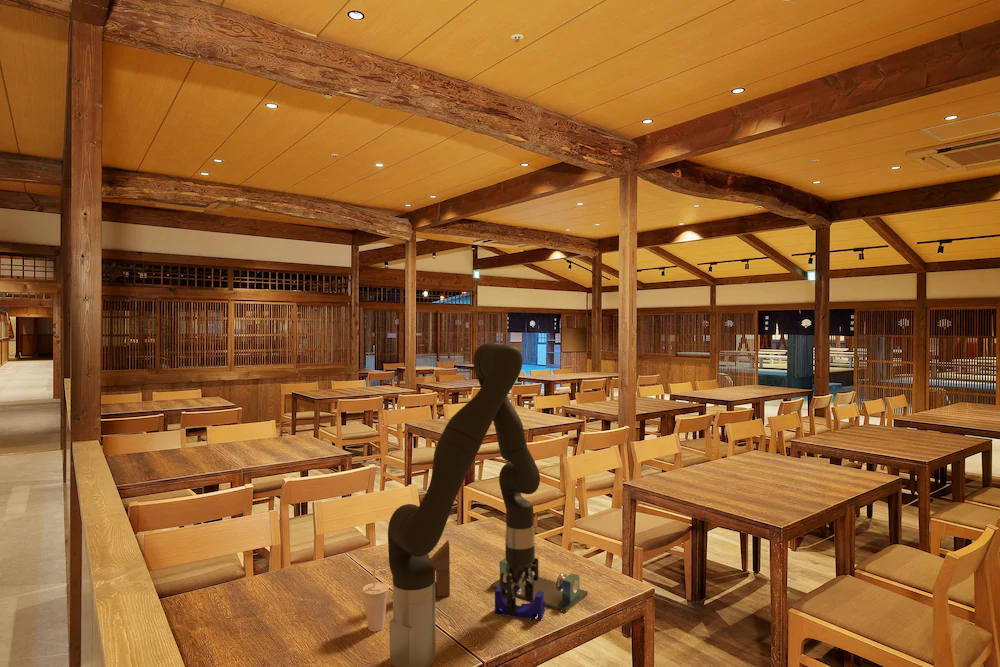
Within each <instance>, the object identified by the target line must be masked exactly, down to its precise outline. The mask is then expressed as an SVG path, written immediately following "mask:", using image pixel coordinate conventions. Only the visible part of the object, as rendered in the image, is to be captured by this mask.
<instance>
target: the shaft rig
mask: <svg viewBox="0 0 1000 667" xmlns="http://www.w3.org/2000/svg"><path fill="white" fill-rule="evenodd" d="M508 570H509V564H508V562H507V561H506V559H505V558H503V559H501V560H499V579H497V580H495V581H494V582H492V583H491V584H490V588H491V589H493V590H496V588H497V587H498V586H501V574H502V573H505V574H506V573H508ZM511 584H512V585H517V584H516V583H513V582H511ZM525 585H526V584H525V582H523V583H522V584H521V587H520V589H519V590H518V591H517V594H516V597H518V598H520V599H523V600H526V599H525ZM513 590H514V589H513V588H512V593H513ZM538 591H541V592H544V601H545V607H548V608H551V609H554V608H556V609H555V610H557V609H559V610H558V611H560V610H562V611H561V612H563V611H565V612H564V613H567V612H569V611H570V610H571V609H572V608H574V607H575V605H577V604H579V602H581V601H582V600H583V599H584V598H585V597H586V596H587V595H588V592H589V591H587V590H584V589H580V575H579V574H576V573H573V572H571V573H570V574H568V575H567V574H565V573H559V575H558V576H557V579H556V581H554V580H551V579H547V578H545V577H541V576H539V578H538V581H535V585H534V586H533V600H532V601H534V600H535V596H536V594H537V592H538ZM505 592H506V589H505ZM532 601H531V602H532ZM570 608H571V609H570ZM569 609H570V610H569ZM566 611H567V612H566Z"/></svg>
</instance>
